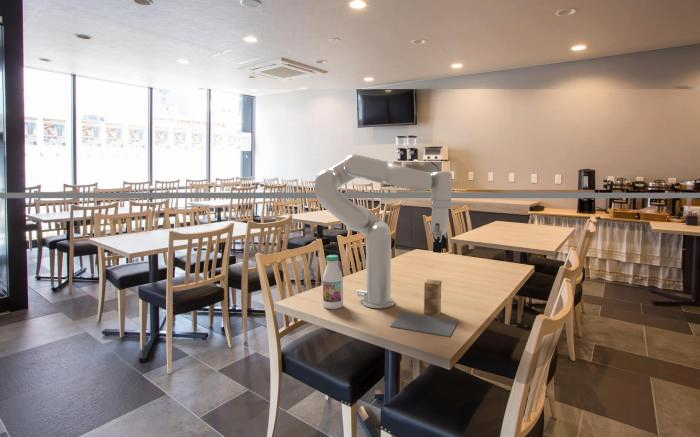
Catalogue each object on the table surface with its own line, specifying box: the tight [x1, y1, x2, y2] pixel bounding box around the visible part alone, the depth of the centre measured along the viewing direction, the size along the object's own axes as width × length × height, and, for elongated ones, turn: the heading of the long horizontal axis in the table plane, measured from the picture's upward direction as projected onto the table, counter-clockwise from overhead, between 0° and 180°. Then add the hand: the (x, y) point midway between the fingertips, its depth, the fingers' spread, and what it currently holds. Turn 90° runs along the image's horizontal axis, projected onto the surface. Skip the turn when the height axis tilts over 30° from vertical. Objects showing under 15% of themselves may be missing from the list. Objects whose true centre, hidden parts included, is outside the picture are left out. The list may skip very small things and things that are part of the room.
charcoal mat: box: [389, 311, 459, 338], centre depth 136 cm, size 20×14×1 cm
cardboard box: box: [423, 278, 442, 317], centre depth 145 cm, size 5×5×12 cm
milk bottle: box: [322, 254, 344, 310], centre depth 153 cm, size 8×8×20 cm
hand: (439, 250), depth 152 cm, fingers open, 7 cm apart
